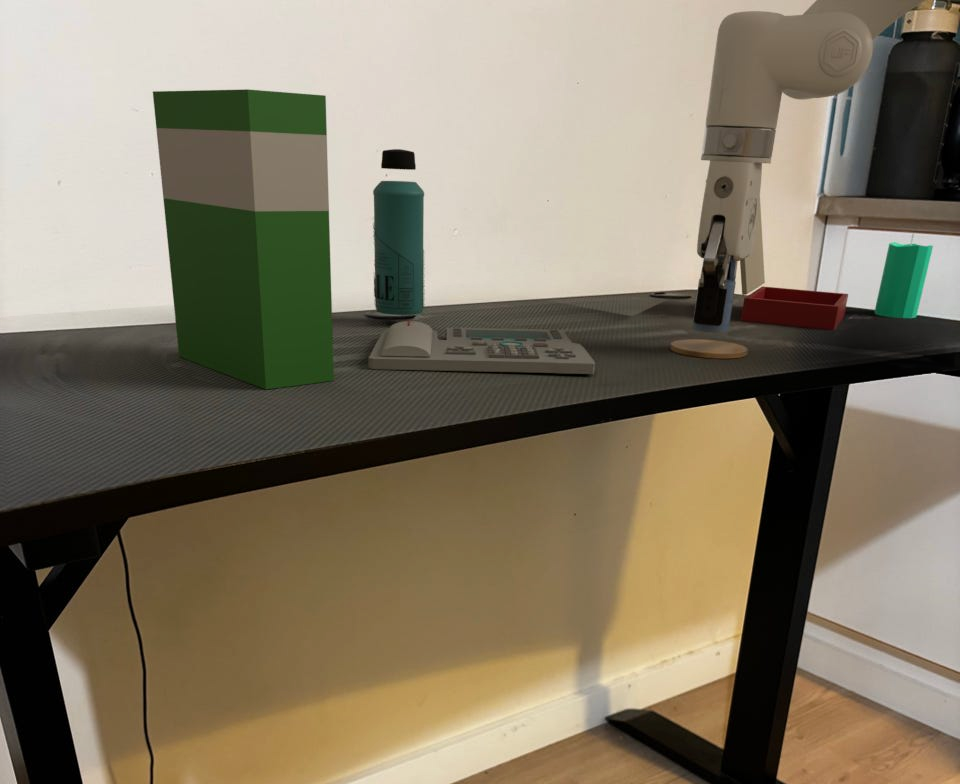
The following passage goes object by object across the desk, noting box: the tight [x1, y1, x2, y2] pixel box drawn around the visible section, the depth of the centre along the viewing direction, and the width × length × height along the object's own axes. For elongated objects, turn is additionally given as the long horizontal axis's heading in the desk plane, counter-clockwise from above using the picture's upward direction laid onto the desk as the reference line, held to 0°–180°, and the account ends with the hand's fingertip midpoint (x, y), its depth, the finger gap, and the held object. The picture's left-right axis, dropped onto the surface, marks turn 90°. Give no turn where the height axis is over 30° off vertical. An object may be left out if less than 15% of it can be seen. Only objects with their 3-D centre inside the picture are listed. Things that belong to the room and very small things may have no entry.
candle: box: [874, 232, 934, 319], centre depth 142 cm, size 6×6×12 cm
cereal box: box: [152, 88, 335, 390], centre depth 91 cm, size 18×7×24 cm, turn 41°
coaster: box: [670, 338, 749, 360], centre depth 115 cm, size 9×9×1 cm
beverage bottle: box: [372, 148, 426, 316], centre depth 119 cm, size 6×7×20 cm
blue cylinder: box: [691, 278, 737, 334], centre depth 112 cm, size 4×4×6 cm
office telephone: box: [367, 319, 596, 375], centre depth 107 cm, size 23×3×20 cm
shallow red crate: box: [740, 285, 849, 331], centre depth 137 cm, size 12×15×4 cm
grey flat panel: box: [739, 196, 766, 296], centre depth 135 cm, size 13×15×1 cm
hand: (712, 319), depth 113 cm, fingers closed on blue cylinder, 4 cm apart
